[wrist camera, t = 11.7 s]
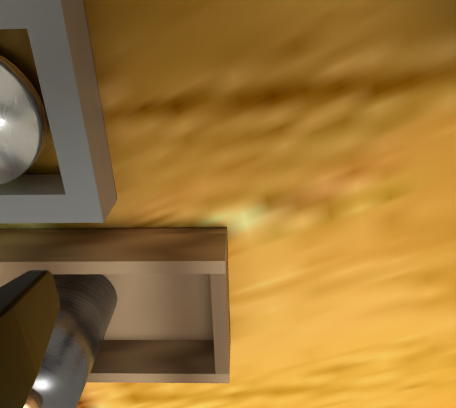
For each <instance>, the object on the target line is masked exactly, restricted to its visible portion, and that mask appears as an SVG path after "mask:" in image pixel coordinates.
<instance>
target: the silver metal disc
mask: <svg viewBox="0 0 456 408" xmlns="http://www.w3.org/2000/svg"><path fill="white" fill-rule="evenodd" d="M47 132H48V128H47V118H46V113H45V110H44V106H43V104H42V101H41V99H40V97H39V95H38V93H37V91H36V90H35V88H34V86H33V85H32V84H31V82H30V81H29V79H28V78H27V77H26V76H25V75H24V74H23V73H22V72H21V71H20V70H19V69H18V68H17V67H16V66H15V65H14V64H13V63H11V62H10V61H9V60H7V59H6V58H5V57H3V56H1V55H0V185H1V184H4V183H7V182H10V181H12V180H14V179H16V178H17V177H19V176H20V175H21V174H22V173H24V172H25V171H26V170H27V169H28V168H30V167H31V166H32V165H33V164H34V163H35V162H36V161H37V160H38V158H39V157H40V155H41V154H42V152H43V150H44V147H45V144H46V140H47Z"/></svg>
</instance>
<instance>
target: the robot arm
mask: <svg viewBox="0 0 456 408" xmlns="http://www.w3.org/2000/svg"><path fill="white" fill-rule="evenodd" d="M59 308H60V300H59V296H58V292H57V288H56V285H55V281H54V278H53V275H52V273H51V272H50V271H48V270H30V271H27V272H26V273H24V274H22V275H20V276H19V277H17V278H15V279H13V280H12V281H10V282H8V283H6V284H5V285H3V286H1V287H0V408H23V407H24V405H25V403H26V401H27V399H28V396H29V394H30V392H31V390H32V387H33V385H34V383H35V380H36V378H37V376H38V373H39V370H40V367H41V364H42V361H43V358H44V355H45V352H46V349H47V346H48V343H49V340H50V337H51V334H52V331H53V328H54V325H55V322H56V319H57V316H58V313H59Z"/></svg>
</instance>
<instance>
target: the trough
mask: <svg viewBox="0 0 456 408" xmlns="http://www.w3.org/2000/svg"><path fill="white" fill-rule="evenodd" d="M30 270H48V271H50V272H51V273H52V274H103V275H104V276H105V277H106V278H107V279H108V280H109V281H110V282H111V283H112V285H113V286H114V288H115V290H116V293H117V306H116V308H115V311H114V313H113V316H112V318H111V321H110V324H109V326H108V329H107V331H106V334H105V336H104V339H103V341H102V344H101V346H100V349H99V351H98V354H97V356H96V359H95V361H94V364H93V366H92V369H91V371H90V374H89V377H88V379H87V382H128V383H229V372H230V313H229V279H228V246H227V227H220V228H81V229H0V287H1V286H3V285H5V284H6V283H8V282H10V281H12V280H13V279H15V278H17V277H19V276H20V275H22V274H24V273H26V272H27V271H30Z"/></svg>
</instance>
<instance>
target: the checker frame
mask: <svg viewBox="0 0 456 408" xmlns="http://www.w3.org/2000/svg"><path fill="white" fill-rule="evenodd" d="M0 29H27V32H28V36H29V40H30V44H31V49H32V53H33V57H34V62H35V66H36V70H37V74H38V79H39V83H40V87H41V91H42V96H43V100H44V104H45V108H46V113H47V117H48V121H49V126H50V130H51V134H52V138H53V143H54V147H55V151H56V155H57V160H58V164H59V168H60V172H61V174H31V175H20V176H19V177H17V178H16V179H14V180H12V181H10V182H7V183H4V184H1V185H0V223H104V221H105V219H106V218H107V216H108V214H109V213H110V211H111V209H112V208H113V206H114V204H115V202H116V201H117V196H116V190H115V184H114V178H113V172H112V166H111V161H110V155H109V149H108V143H107V137H106V131H105V125H104V119H103V113H102V108H101V102H100V96H99V90H98V84H97V78H96V72H95V66H94V61H93V55H92V49H91V43H90V37H89V31H88V25H87V19H86V13H85V8H84V2H83V0H0Z"/></svg>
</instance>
